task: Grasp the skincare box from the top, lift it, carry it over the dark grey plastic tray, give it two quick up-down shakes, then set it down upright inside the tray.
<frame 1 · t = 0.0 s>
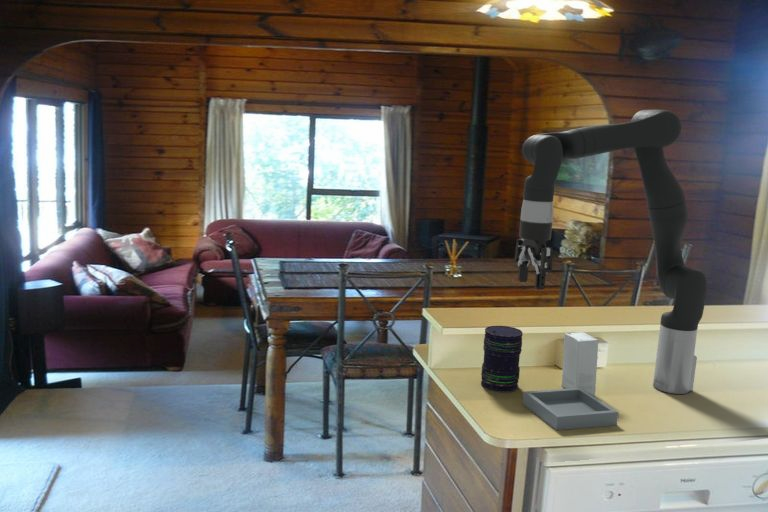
hand: (530, 285, 180), 29 cm above the counter, tool pointing down, fingers open, 8 cm apart
skincare box: (576, 391, 194), on the counter
dark blue barrel: (499, 386, 195), on the counter
tray: (568, 414, 178), on the counter
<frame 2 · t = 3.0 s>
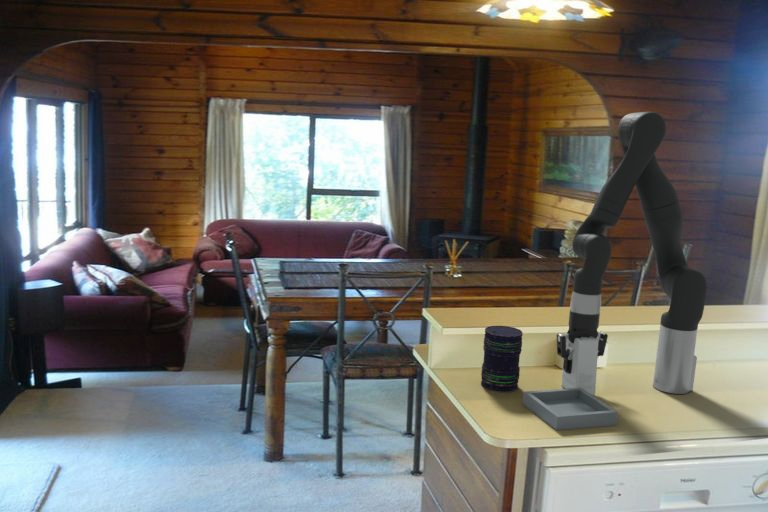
hand: (578, 371, 193), 5 cm above the counter, tool pointing down, fingers closed on skincare box, 6 cm apart
skincare box: (576, 391, 194), on the counter, touching gripper
everything else where it was.
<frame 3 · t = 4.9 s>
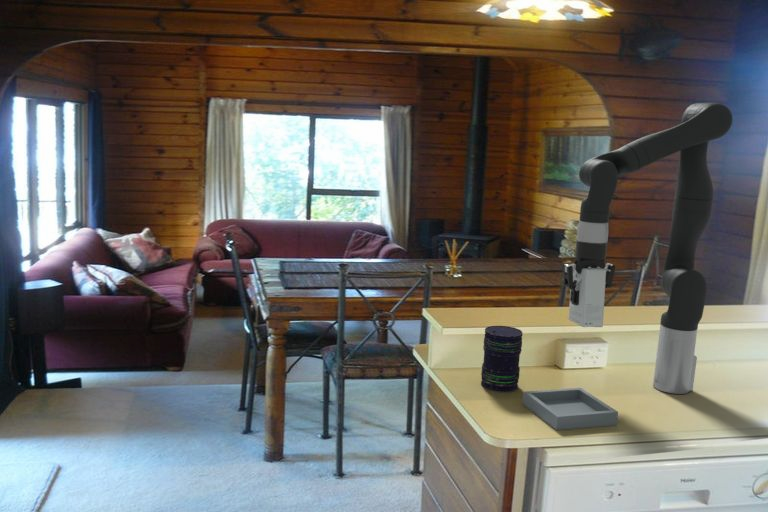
hand: (585, 303, 190), 23 cm above the counter, tool pointing down, fingers closed on skincare box, 6 cm apart
skincare box: (584, 324, 191), point 18 cm above the counter, touching gripper
everything else where it was.
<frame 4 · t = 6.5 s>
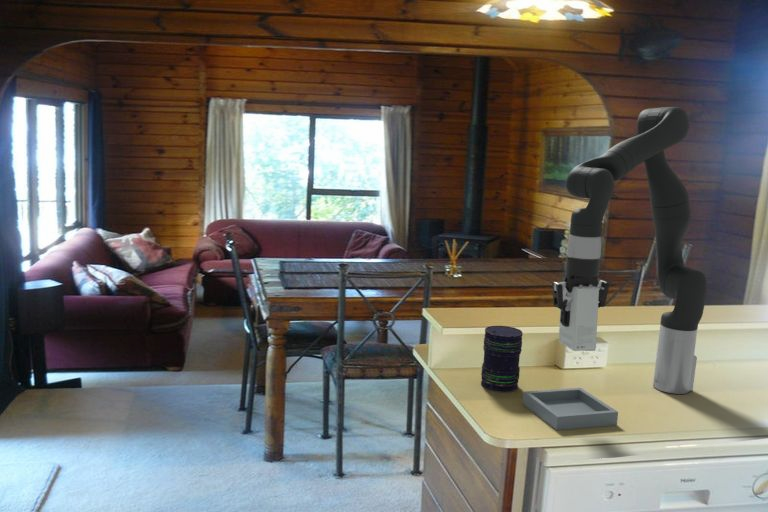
hand: (577, 324, 174), 22 cm above the counter, tool pointing down, fingers closed on skincare box, 6 cm apart
skincare box: (575, 347, 175), point 17 cm above the counter, touching gripper
everything else where it was.
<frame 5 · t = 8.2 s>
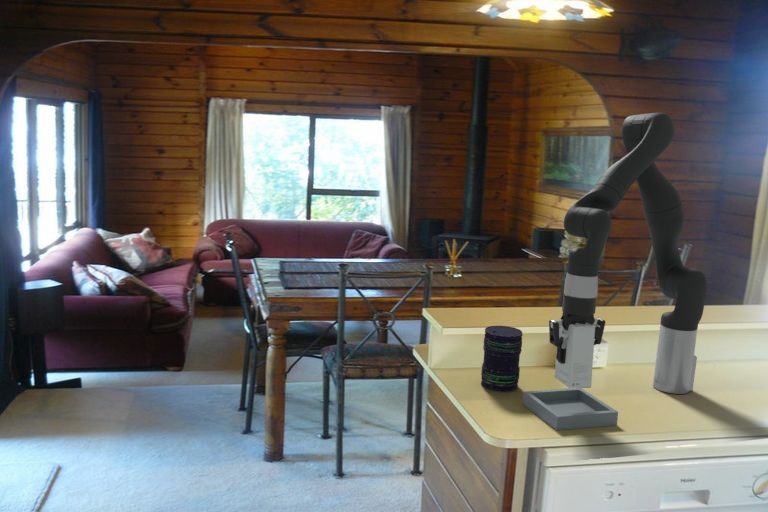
hand: (573, 361, 175), 13 cm above the counter, tool pointing down, fingers closed on skincare box, 6 cm apart
skincare box: (571, 383, 176), point 8 cm above the counter, touching gripper
everything else where it was.
when the fingers open (7 cm above the counter, at t = 9.8 s): skincare box stays where it is, resting on tray.
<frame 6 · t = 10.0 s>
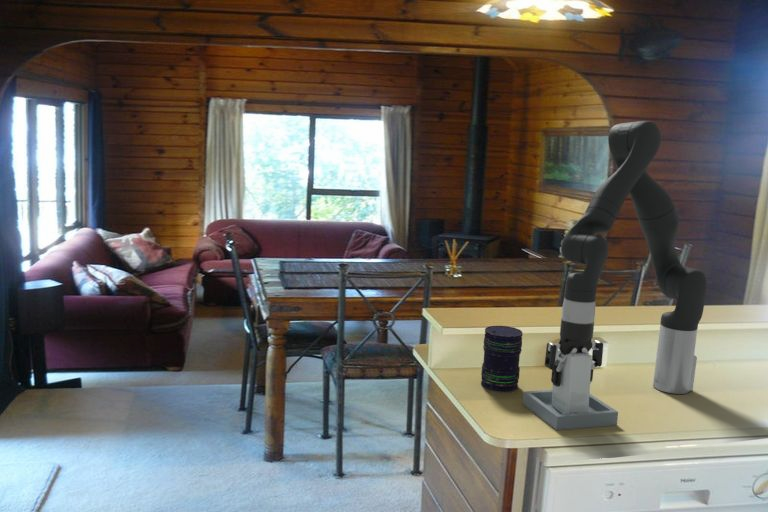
hand: (571, 384, 176), 7 cm above the counter, tool pointing down, fingers open, 8 cm apart
skincare box: (568, 411, 178), point 1 cm above the counter, touching tray
everything else where it was.
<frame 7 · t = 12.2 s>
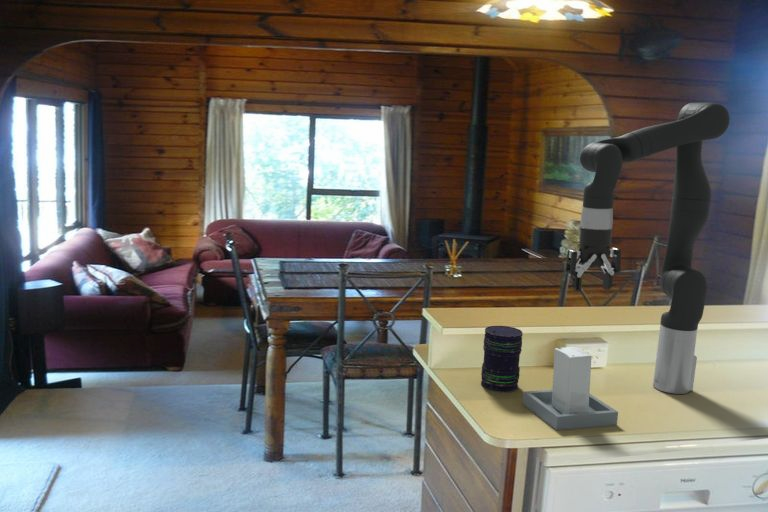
hand: (591, 290, 184), 28 cm above the counter, tool pointing down, fingers open, 8 cm apart
nothing on the counter moved.
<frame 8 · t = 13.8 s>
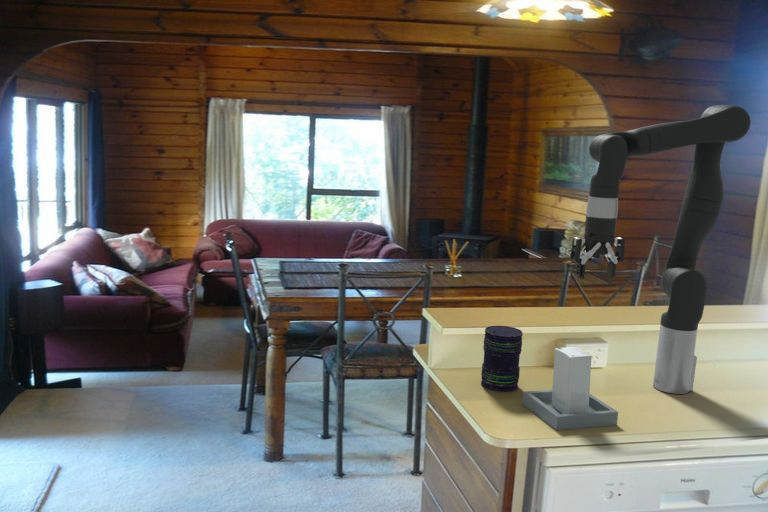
hand: (595, 278, 189), 30 cm above the counter, tool pointing down, fingers open, 8 cm apart
nothing on the counter moved.
at the end: skincare box inside the target area on the tray (0.1 cm from its centre), point 0.6 cm above the tray's base; skincare box tilted 0°; the gripper is holding nothing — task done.
